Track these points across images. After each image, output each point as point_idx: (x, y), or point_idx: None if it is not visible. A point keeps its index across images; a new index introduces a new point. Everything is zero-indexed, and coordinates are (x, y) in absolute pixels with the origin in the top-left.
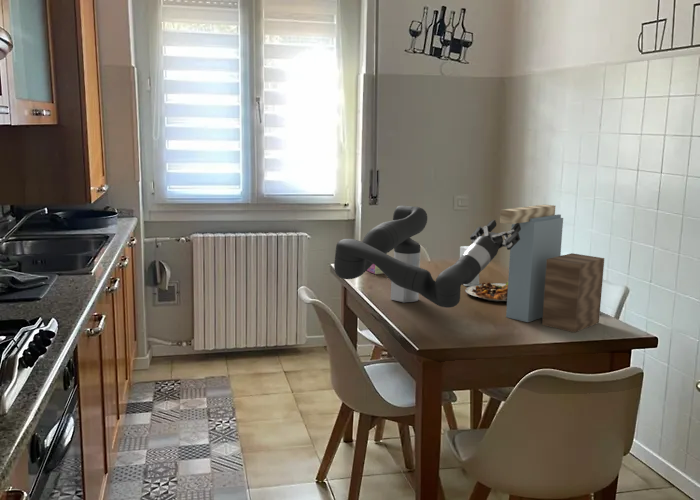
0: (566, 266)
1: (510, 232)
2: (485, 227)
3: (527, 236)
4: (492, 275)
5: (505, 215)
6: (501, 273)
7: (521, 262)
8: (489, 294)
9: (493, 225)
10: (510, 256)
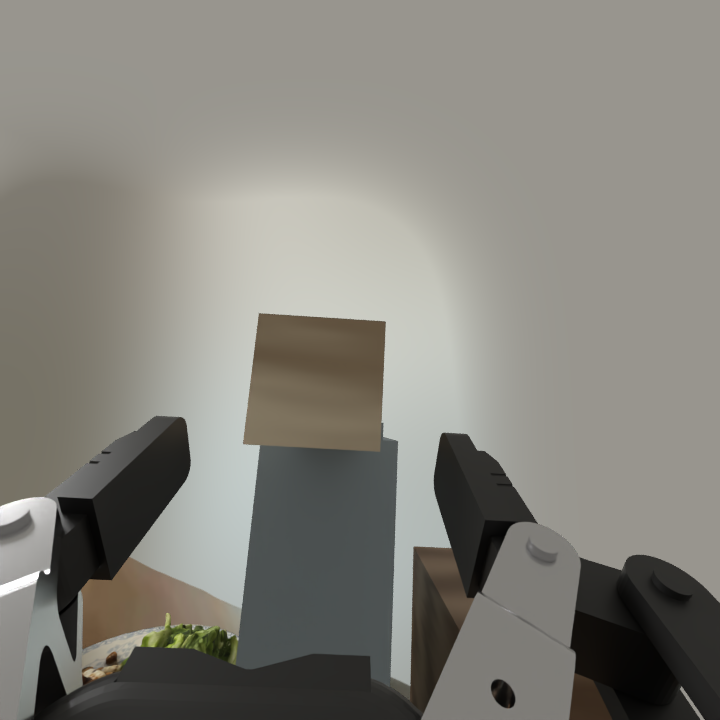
0: (589, 679)
1: (575, 599)
2: (11, 532)
3: (357, 524)
4: (100, 587)
5: (313, 364)
6: (124, 572)
7: None
8: None
9: (161, 478)
10: None
